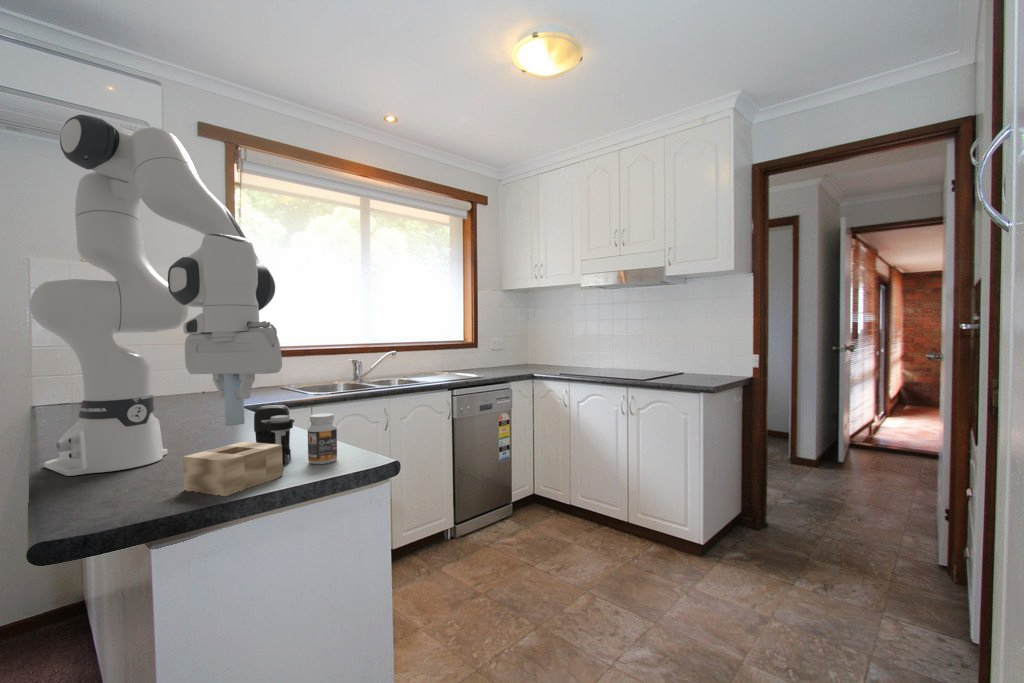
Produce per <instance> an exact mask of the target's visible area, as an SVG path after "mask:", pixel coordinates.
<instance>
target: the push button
mask: <svg viewBox="0 0 1024 683" xmlns="http://www.w3.org/2000/svg"><path fill="white" fill-rule="evenodd" d="M294 423H295V419H293V418H292V419H291V417H290V418H289V415H278V416H272V417H271V420H270V421H268V422H266V425H268V430H270V431H271V432H274V433H275V440H276V442H275V444H278V445H282V462H283V465H284V464H285V463H286V462H287V463H286V464H290V462H291V461H292V457H291V456H292V454H291V453H292V452H291V451H292V450H291V448H290V449H289V445H287V441H286V431H289V430H290V431H291V429H293V428H294V426H293V424H294ZM290 460H291V461H290ZM286 464H285V465H286ZM285 465H284V466H285Z"/></svg>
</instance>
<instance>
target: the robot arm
mask: <svg viewBox="0 0 1024 683" xmlns="http://www.w3.org/2000/svg"><path fill="white" fill-rule="evenodd" d="M59 136H60V137H59V145H60V150H61V151H62V153H63V155H64V156H65V158H66V159H67V160H68V161H70V162H71V163H73V164H75V165H77V166H79V167H80V168H83V169H85V170H91V171H93V172H89V173H87V174H85V175H83V176H82V177H81V178H80V180H79V182H78V185H77V188H76V196H75V204H74V205H75V206H74V212H75V213H74V215H75V216H74V217H75V230H76V231H75V233H76V246H77V248H76V249H77V251H78V253H79V255H80V257H82V259H84V261H86V262H87V263H89V264H90V265H92V266H93V267H96V268H98V269H100V270H102V271H105V272H107V273H108V274H110V275H111V276H112V278H114V279H115V280H99V279H97V280H95V279H81V278H80V279H78V278H74V279H73V278H72V279H71V278H70V279H59V280H50V281H44V282H42V283H41V284H40V285H38V287H36V288H35V290H34V291H33V293H32V294H31V295H30V296H31V297H30V300H29V310H30V314H31V315H32V318H34V321H35V322H36V323H37V324H38V325H40V326H41V327H42V328H44V329H45V330H47V331H49V332H51V333H53V334H54V335H56V336H58V337H59V338H61V340H63V341H64V342H65V343H66V344H67V345H68V346H69V347H70V348H71V349H72V351H73V352H74V353H75V355H76V357H77V359H78V361H79V362H78V363H79V365H80V368H81V374H82V381H83V383H82V384H83V393H84V394H83V395H84V396H83V398H84V399H83V400H82V401H81V402H80V403H78V404H77V405H78V406H79V405H80V406H79V407H78V409H79V410H78V411H79V413H78V418H79V419H78V420H77V421H76V422H75V423H74V424H73V425H72V426H71V427H70V428H69V429H68V430H67V431H66V432H65V433H64V434H63V435H62V436H60V439H59V440H58V441H56V443H55V450H56V451H57V453H58V454H59V456H58V458H54V459H49V460H48V461H45V462H44V463H43V464H44V465H43V467H44V468H46V469H49V470H52V471H53V472H56V473H58V474H61V475H64V476H67V477H71V476H73V477H74V476H79V475H80V476H81V475H86V474H95V473H105V472H107V473H109V472H114V471H115V472H116V471H121V470H127V469H133V468H137V467H142V466H146V465H147V466H148V465H150V464H153V463H156V462H158V461H160V460H162V459H163V457H164V456H165V455H168V448H164V447H163V440H162V431H161V426H160V421H159V419H158V418H157V417H155V416H154V414H153V412H154V411H155V398H154V395H152V380H151V379H152V378H151V377H152V375H151V374H152V373H151V371H152V370H151V363H150V362H149V360H148V358H147V357H146V356H145V355H143V354H141V353H140V352H137V351H134V350H132V349H129V348H127V347H123V346H121V345H119V344H118V343H116V341H115V339H114V334H119V333H124V334H125V333H127V334H129V333H137V334H138V333H158V332H159V333H160V332H165V331H170V330H177V329H179V328H180V327H181V326H182V325H183V334H185V335H187V336H186V338H185V340H184V362H185V363H184V364H185V367H186V370H187V372H188V373H189V374H190V375H212V381H213V383H214V385H215V387H216V389H217V390H218V393H217V394H218V399H220V400H225V399H224V374H239V380H242V382H241V385H240V388H239V389H238V390H236V398H237V399H244V400H248V399H250V398H251V389H252V387H253V384H254V383H255V380H256V375H263V374H265V375H266V374H277V373H280V371H281V370H282V368H283V357H282V351H281V350H282V349H281V344H280V340H279V337H278V330H277V328H276V327H275V326H274V324H272V322H270V321H268V320H263V321H260V311H261V310H262V309H264V308H265V307H266V306H268V305H269V303H270V302H271V301H272V300H273V299H274V296H275V292H276V283H275V282H276V281H275V279H274V277H273V275H272V273H271V271H270V270H269V268H267V267H266V265H265V264H264V263H263V262H262V261H261V259H259V257H258V255H257V254H256V252H255V248H254V245H253V243H252V241H250V240H248V238H247V237H246V236H245V234H244V232H243V231H242V229H241V227H240V226H239V223H238V222H237V221H236V220H235V218H234V215H233V214H232V213H231V211H230V210H229V209H228V208H227V207H226V206H225V205H224V204H223V203H222V202H220V201H219V200H218V198H216V197H215V196H214V195H213V194H212V193H211V192H210V190H208V188H207V187H206V185H205V184H204V183H203V182H202V180H201V179H200V177H199V175H198V173H197V172H198V171H197V170H196V167H195V166H194V163H193V161H192V159H191V157H190V155H189V154H188V151H186V149H185V147H184V146H183V144H182V143H181V141H180V140H179V139H178V138H177V137H176V136H175V135H174V134H172V133H171V132H169V131H167V130H164V129H162V128H158V127H144V128H140V129H138V130H137V131H133V130H131V129H129V128H125V127H122V126H120V125H117V124H114V123H111V122H107V121H106V120H104V119H103V118H99V117H96V116H91V115H87V114H76V115H74V116H73V117H70V118H68V119H67V120H66V121H65V123H64V125H63V127H62V128H61V131H60V135H59ZM140 200H142V202H143V203H144V205H145V206H146V207H147V208H148V209H149V210H150V211H151V212H153V213H155V215H157V216H159V217H161V218H163V219H164V220H168V221H170V222H172V223H173V222H174V223H176V224H179V225H182V226H184V227H186V228H190V229H192V230H194V231H196V232H198V233H201V234H202V235H204V236H203V238H202V241H201V245H200V247H198V249H197V250H195V251H193V253H191V254H189V255H188V256H182V257H180V258H179V259H178V260H176V261H175V262H174V263H173V264H172V265H170V266H169V268H168V272H167V281H166V280H165V278H163V277H162V276H161V275H160V274H159V272H157V271H156V270H155V269H154V267H153V266H152V265H151V263H150V260H149V258H148V257H147V253H146V250H145V244H144V237H143V230H142V221H141V214H140ZM189 307H191V308H202V312H200V313H198V315H196V316H195V317H194V316H193V317H192V318H191V319H189V320H187V317H188V315H189ZM186 320H187V321H186Z"/></svg>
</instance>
